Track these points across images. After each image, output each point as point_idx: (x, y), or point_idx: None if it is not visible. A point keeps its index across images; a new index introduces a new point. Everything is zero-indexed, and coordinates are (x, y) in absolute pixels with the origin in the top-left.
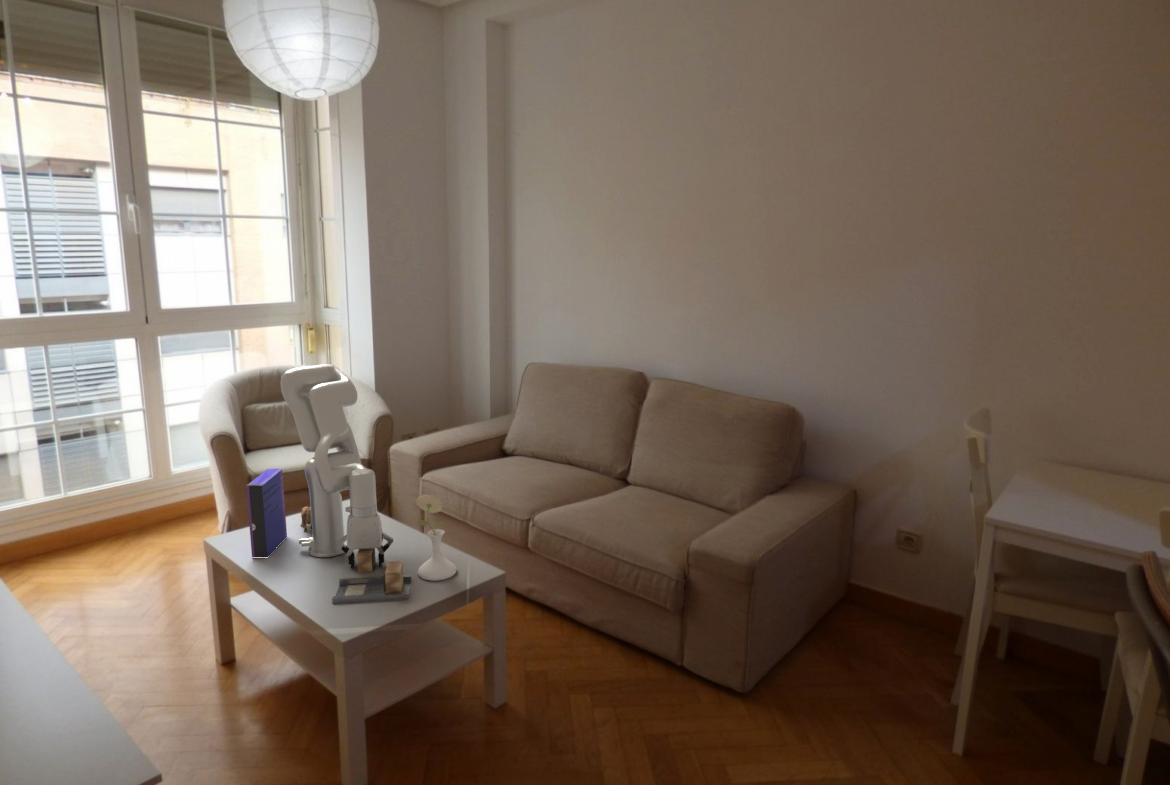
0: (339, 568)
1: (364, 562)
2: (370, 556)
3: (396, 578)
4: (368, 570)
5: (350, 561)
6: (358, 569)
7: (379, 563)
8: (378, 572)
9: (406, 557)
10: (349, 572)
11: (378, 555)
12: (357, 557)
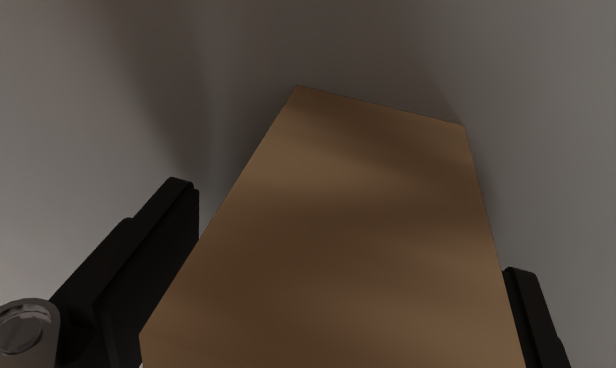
0: (590, 352)
1: (361, 213)
2: (195, 266)
3: None
4: (324, 124)
5: (562, 356)
6: (465, 171)
7: (167, 204)
8: (226, 131)
9: (48, 298)
10: (531, 247)
11: (111, 300)
12: (514, 349)
